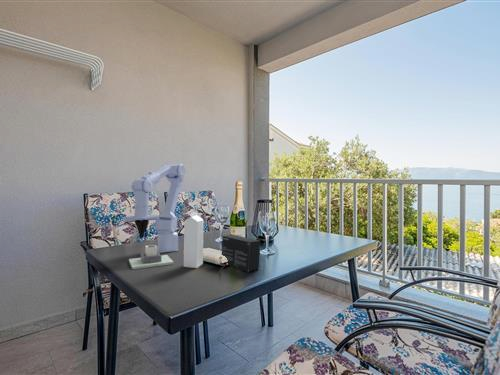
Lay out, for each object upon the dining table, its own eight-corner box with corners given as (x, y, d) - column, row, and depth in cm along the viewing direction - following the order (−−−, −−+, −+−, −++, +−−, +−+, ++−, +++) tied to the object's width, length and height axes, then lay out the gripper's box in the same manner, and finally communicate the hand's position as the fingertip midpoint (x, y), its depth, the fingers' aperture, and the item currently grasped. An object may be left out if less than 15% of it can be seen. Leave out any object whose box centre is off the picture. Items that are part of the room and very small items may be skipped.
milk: (183, 266, 113) (183, 213, 113) (190, 262, 119) (190, 211, 119) (197, 268, 112) (197, 213, 111) (203, 263, 118) (203, 212, 117)
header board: (166, 256, 127) (167, 249, 127) (173, 264, 116) (173, 255, 116) (128, 261, 119) (128, 253, 119) (132, 269, 109) (132, 260, 109)
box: (260, 269, 112) (260, 240, 112) (248, 273, 108) (249, 242, 107) (232, 260, 124) (232, 233, 124) (220, 263, 120) (221, 235, 119)
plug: (155, 258, 121) (155, 243, 120) (156, 261, 117) (156, 245, 117) (145, 259, 119) (145, 244, 118) (146, 262, 115) (146, 246, 115)
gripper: (124, 207, 114) (124, 240, 114) (160, 206, 121) (160, 237, 122) (122, 206, 120) (122, 237, 120) (157, 205, 127) (157, 234, 128)
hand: (141, 237), depth 121 cm, fingers closed
